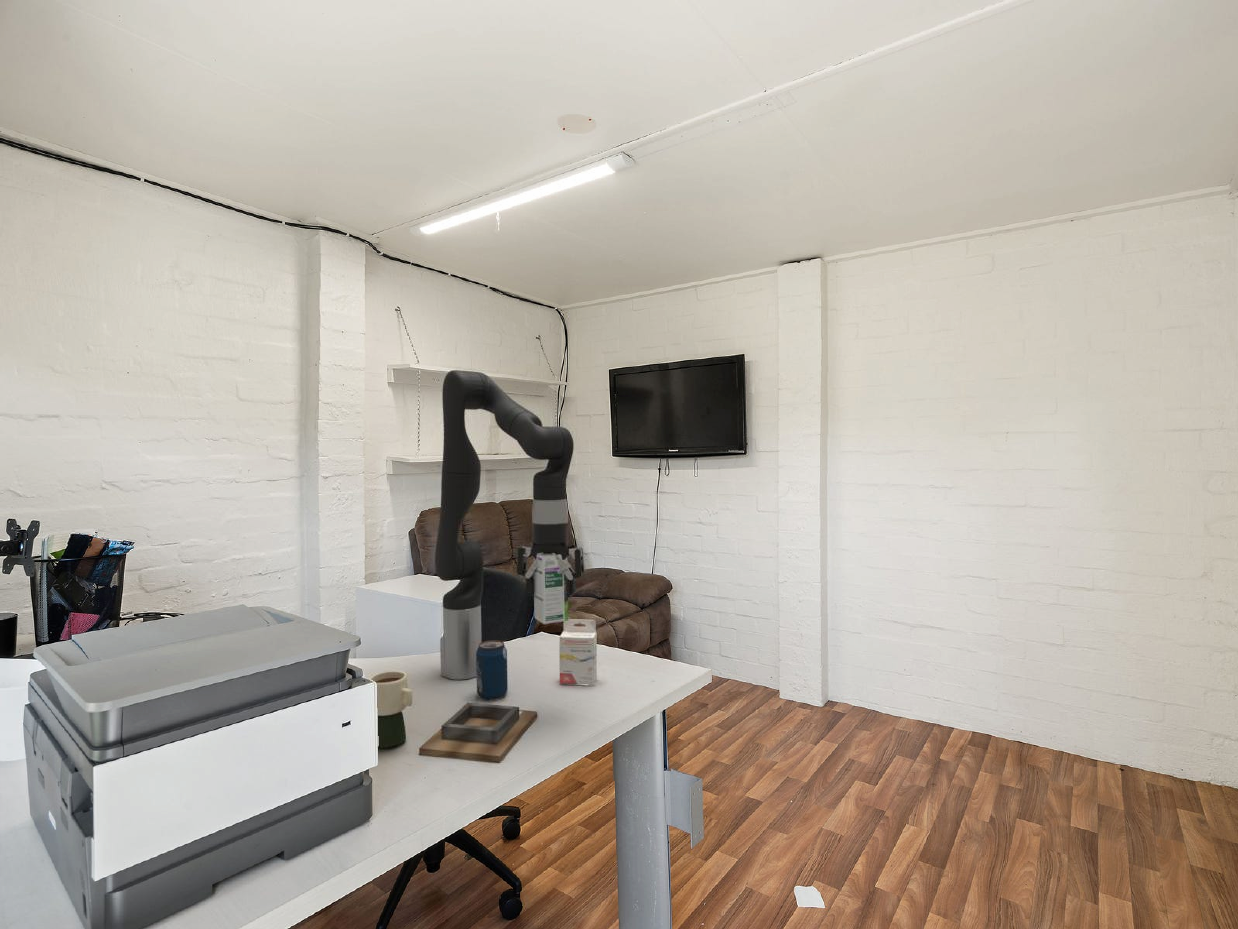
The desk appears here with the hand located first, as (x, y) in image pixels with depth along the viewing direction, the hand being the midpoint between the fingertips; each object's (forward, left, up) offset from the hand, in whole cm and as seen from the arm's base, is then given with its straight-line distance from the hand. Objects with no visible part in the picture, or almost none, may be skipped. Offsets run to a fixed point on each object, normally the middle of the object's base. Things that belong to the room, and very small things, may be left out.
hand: (550, 595), depth 140 cm
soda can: (-16, +5, -25) cm, 30 cm away
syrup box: (0, 0, -5) cm, 5 cm away
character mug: (-26, -21, -25) cm, 42 cm away
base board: (-10, -14, -25) cm, 30 cm away
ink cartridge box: (+1, +17, -25) cm, 31 cm away
